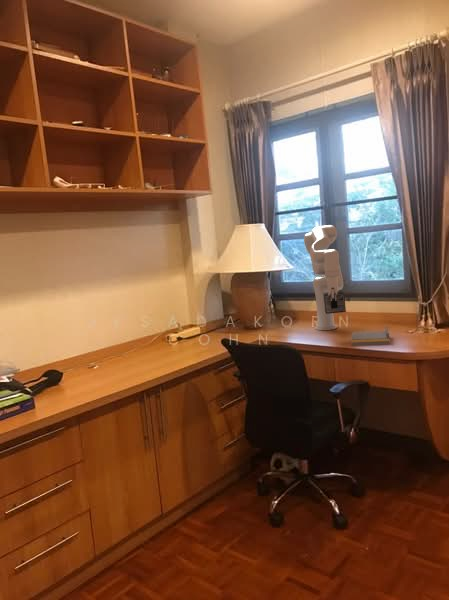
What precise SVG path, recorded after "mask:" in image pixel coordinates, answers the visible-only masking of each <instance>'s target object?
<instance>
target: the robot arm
mask: <svg viewBox="0 0 449 600" xmlns="http://www.w3.org/2000/svg"><path fill="white" fill-rule="evenodd" d="M337 237H338V231H337V228H336V227H335V226H334V225H332V224H328V225H320V226H316V227H314V228H313V229H312V230H311V231H310V232H307V233H305V234H304V236H303V241H304V246H305V250H306V251H307V253H308V254H309V257H310V262H311V267H312V271H313V273H314V275H315V276H316V277H314V279H313V281H312V285H313V290H314V294H315V302H316V304H315V305H316V313H317V315H316V316H317V325H316V326H315V329H316V330H317V331H329V330H336V329H337V328H338V325H337V324H335V317H334V314H335V313H330V314H326V313H325V306H324V295H323V293H328V296H329V295H330V294H331V308H332V309H334V308H338V307H337V301H336V296H337V295H338V292H339V291H340V290H343V288H344V277H343V274H342V270H341V268H342V267H341V265H340V260H339V259H340V254H339V251H338V250H336V249H335V248H331V249H329V247H330V245H331V244H334V241H336V239H337ZM334 294H335V295H334Z"/></svg>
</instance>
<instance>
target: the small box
mask: <svg viewBox="0 0 449 600" xmlns="http://www.w3.org/2000/svg"><path fill="white" fill-rule="evenodd" d="M323 295H324V306H325V313H326V314H330V313H333V314H339V313H346V312H347V307H346V298H345V292H344V291H338V295H337V296H336V301H337V307H338V308H334V309H332V308H331V294H330V295H329V296H328V292H327V293H323ZM334 295H335V294H334Z"/></svg>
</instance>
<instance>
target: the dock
mask: <svg viewBox="0 0 449 600" xmlns="http://www.w3.org/2000/svg"><path fill="white" fill-rule="evenodd" d="M384 328H385V329H384V331H362V332H360V331H359V332H358V331H357V332H352V333H351V339H350V340H351V346H373V345H374V346H375V345H390V344H391V343H390V342H391V341H390V331H389V327H388V326H385V327H384Z"/></svg>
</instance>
